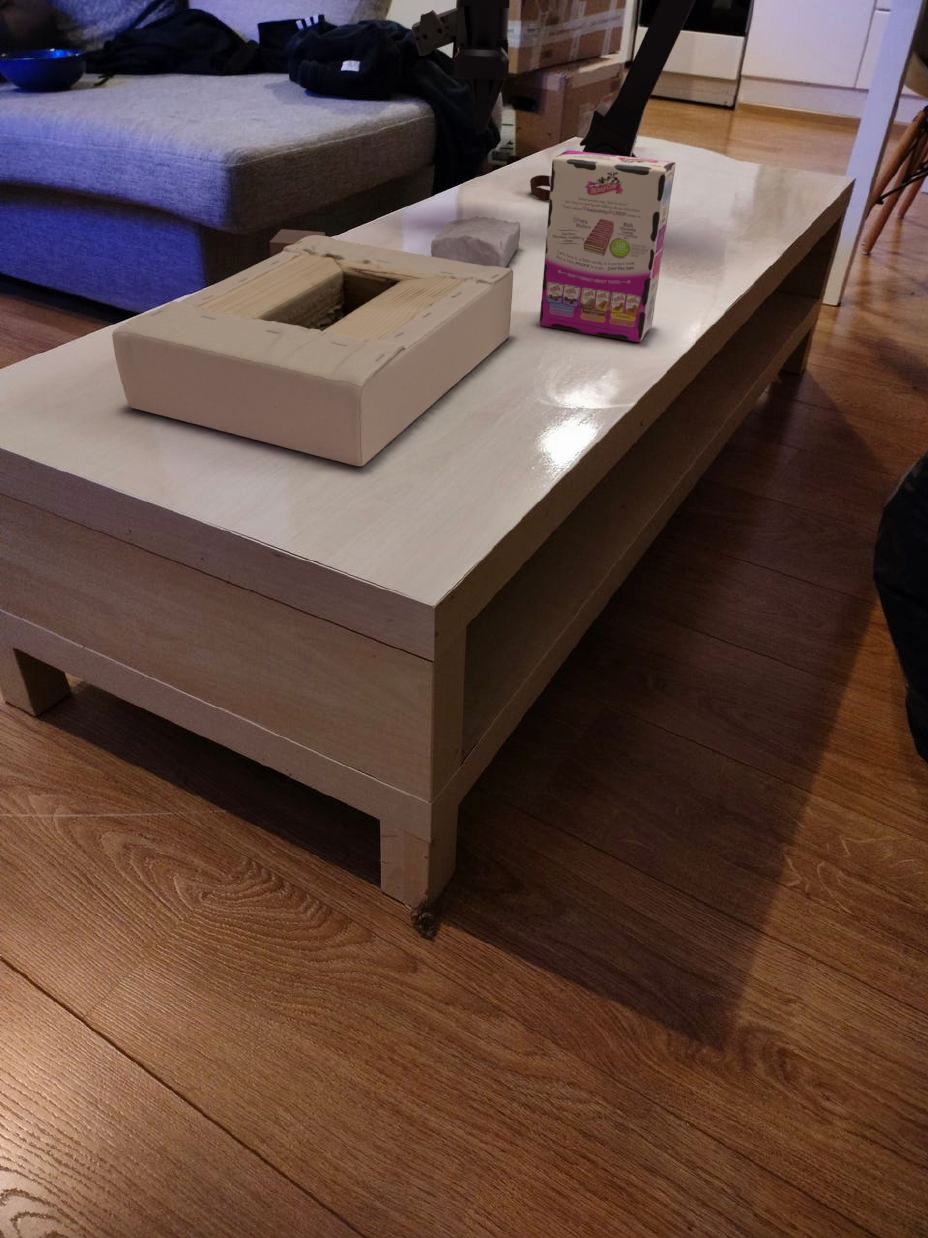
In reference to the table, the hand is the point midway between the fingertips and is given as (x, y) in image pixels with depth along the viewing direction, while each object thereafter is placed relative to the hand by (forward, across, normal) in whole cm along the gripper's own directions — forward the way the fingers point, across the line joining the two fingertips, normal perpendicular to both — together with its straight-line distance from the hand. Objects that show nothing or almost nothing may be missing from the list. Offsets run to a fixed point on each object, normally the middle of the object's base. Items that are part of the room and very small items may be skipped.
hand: (479, 132), depth 122 cm
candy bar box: (+12, +34, +13) cm, 38 cm away
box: (+12, +48, -12) cm, 51 cm away
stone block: (+12, +12, 0) cm, 17 cm away
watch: (+12, -18, +11) cm, 24 cm away
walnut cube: (+12, +24, -19) cm, 33 cm away
